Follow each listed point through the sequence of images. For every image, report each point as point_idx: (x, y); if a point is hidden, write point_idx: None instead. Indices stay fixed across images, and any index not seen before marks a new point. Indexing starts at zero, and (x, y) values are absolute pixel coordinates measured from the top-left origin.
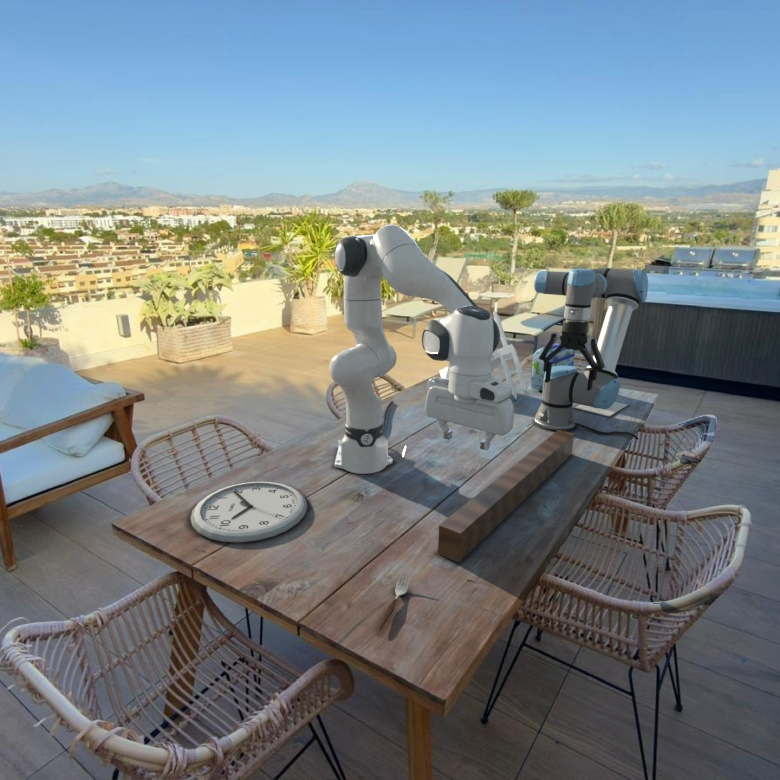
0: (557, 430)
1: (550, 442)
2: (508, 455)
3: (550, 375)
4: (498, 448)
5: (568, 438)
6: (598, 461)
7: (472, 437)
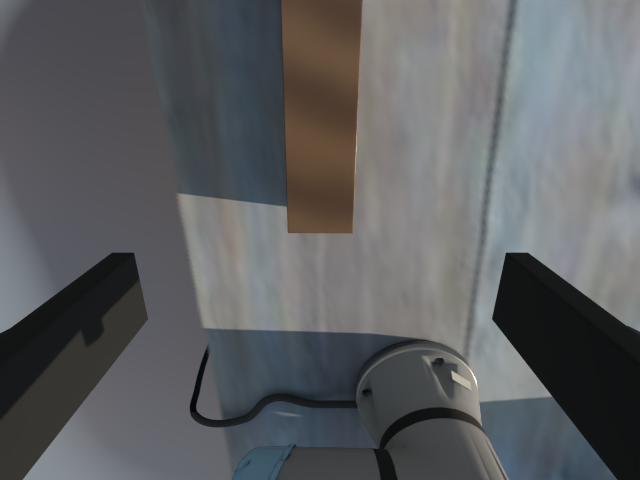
0: (352, 224)
1: (331, 72)
2: (471, 56)
3: (520, 348)
4: (521, 94)
5: (287, 169)
6: (210, 208)
7: (636, 129)
